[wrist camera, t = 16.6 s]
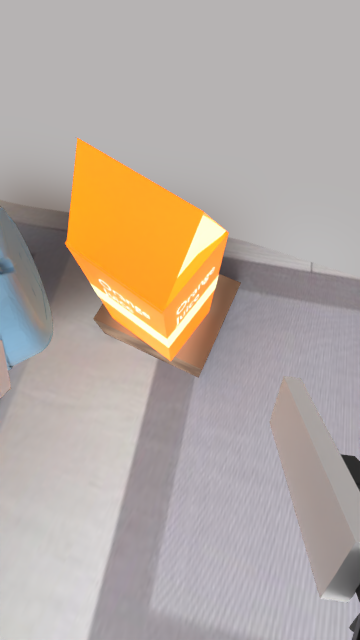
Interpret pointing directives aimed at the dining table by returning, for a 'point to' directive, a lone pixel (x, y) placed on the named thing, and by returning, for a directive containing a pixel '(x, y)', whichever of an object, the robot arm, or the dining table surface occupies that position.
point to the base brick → (199, 341)
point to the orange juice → (143, 250)
